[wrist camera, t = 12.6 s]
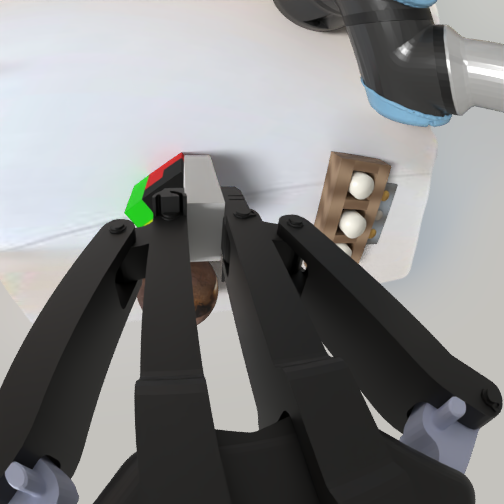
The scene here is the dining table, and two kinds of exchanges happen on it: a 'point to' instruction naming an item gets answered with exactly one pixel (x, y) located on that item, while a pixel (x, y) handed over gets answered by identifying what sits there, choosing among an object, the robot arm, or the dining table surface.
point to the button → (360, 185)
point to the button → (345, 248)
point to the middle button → (352, 223)
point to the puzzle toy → (154, 190)
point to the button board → (354, 200)
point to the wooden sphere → (198, 289)
